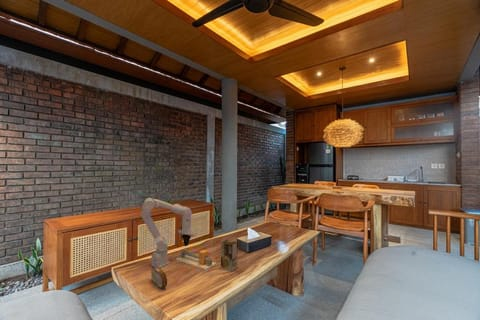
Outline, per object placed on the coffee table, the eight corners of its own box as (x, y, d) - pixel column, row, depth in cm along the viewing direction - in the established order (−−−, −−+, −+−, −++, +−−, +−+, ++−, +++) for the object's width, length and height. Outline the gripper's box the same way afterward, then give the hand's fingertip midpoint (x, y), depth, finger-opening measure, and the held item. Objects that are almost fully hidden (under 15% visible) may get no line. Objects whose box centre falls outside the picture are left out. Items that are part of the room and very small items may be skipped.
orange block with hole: (208, 261, 145) (208, 250, 145) (203, 264, 141) (203, 253, 141) (203, 260, 147) (203, 249, 147) (198, 262, 143) (198, 251, 143)
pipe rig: (216, 264, 145) (216, 256, 145) (206, 270, 136) (206, 261, 136) (186, 255, 159) (186, 247, 159) (175, 260, 150) (176, 252, 151)
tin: (167, 289, 115) (167, 273, 115) (161, 291, 113) (162, 275, 113) (155, 278, 126) (156, 263, 126) (150, 280, 124) (150, 265, 124)
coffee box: (237, 267, 141) (238, 242, 141) (232, 271, 135) (232, 245, 136) (225, 264, 146) (226, 239, 146) (220, 267, 140) (220, 242, 141)
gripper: (198, 225, 151) (198, 245, 151) (183, 222, 159) (183, 241, 158) (191, 228, 145) (190, 249, 145) (175, 224, 153) (175, 244, 152)
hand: (186, 245), depth 151 cm, fingers closed
